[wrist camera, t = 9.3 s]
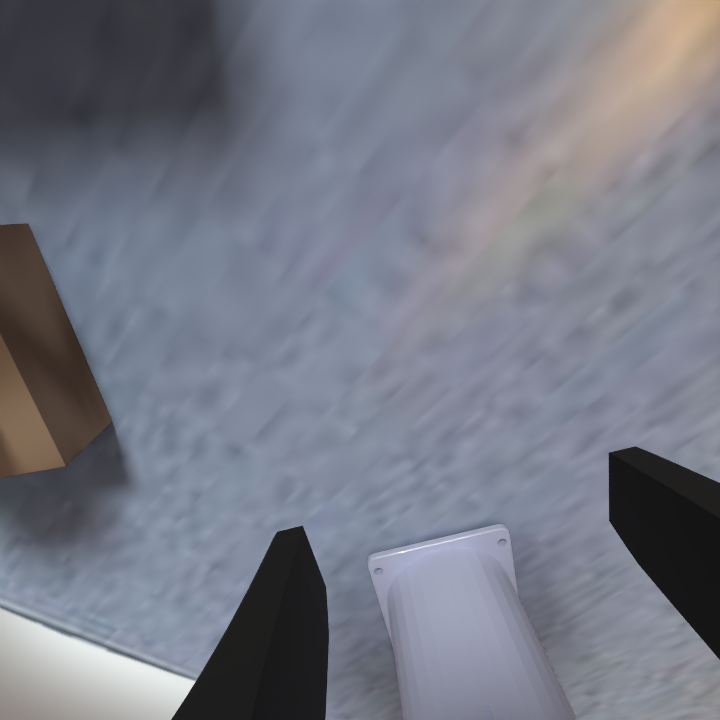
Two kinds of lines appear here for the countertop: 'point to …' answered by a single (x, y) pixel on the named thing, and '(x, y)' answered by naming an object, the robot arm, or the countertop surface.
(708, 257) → the countertop surface
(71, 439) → the walnut block
